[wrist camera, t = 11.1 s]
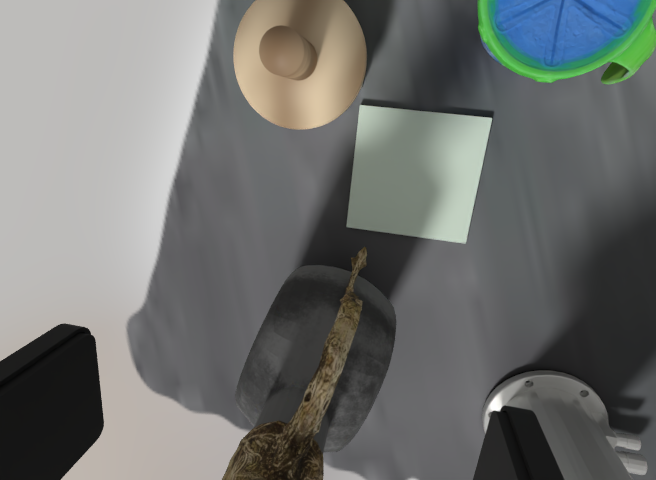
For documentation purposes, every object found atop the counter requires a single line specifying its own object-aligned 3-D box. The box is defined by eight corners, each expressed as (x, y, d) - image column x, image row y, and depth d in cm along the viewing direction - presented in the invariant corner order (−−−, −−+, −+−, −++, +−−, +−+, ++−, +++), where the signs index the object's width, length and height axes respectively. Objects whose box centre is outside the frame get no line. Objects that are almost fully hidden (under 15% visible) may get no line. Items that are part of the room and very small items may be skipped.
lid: (375, -10, 32) (369, -37, 26) (358, 135, 35) (350, 140, 29) (240, -18, 33) (206, -45, 27) (237, 122, 37) (206, 124, 31)
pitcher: (267, 341, 48) (82, 662, 20) (325, 197, 42) (174, 375, 14) (350, 379, 48) (281, 759, 20) (423, 239, 42) (471, 511, 13)
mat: (491, 117, 37) (492, 117, 37) (464, 241, 41) (465, 243, 40) (360, 105, 39) (360, 104, 38) (347, 225, 42) (346, 227, 42)
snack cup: (411, 10, 36) (416, -26, 26) (507, -107, 32) (552, -198, 23) (538, 132, 37) (586, 139, 27) (642, 32, 33) (740, 0, 24)
